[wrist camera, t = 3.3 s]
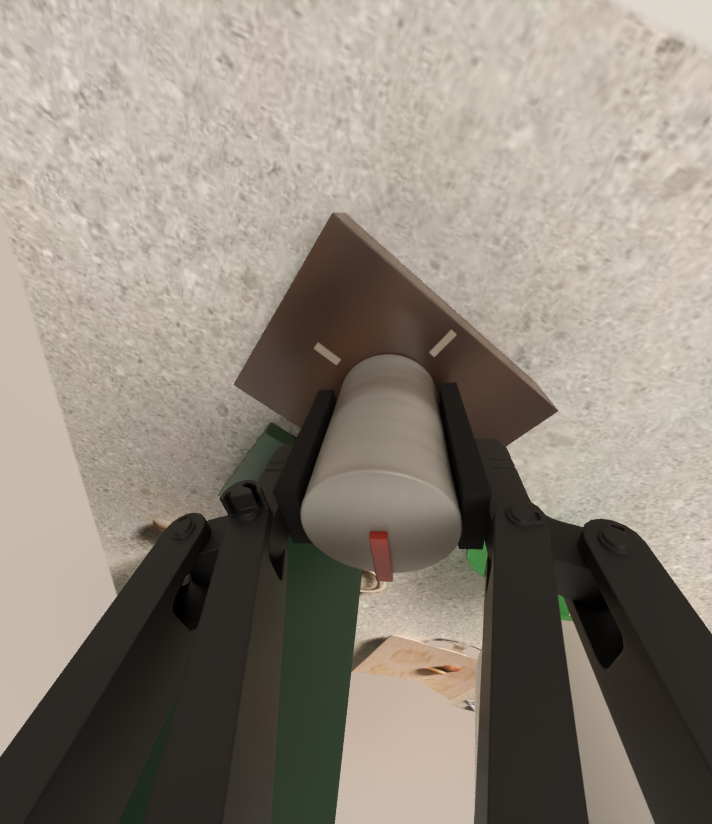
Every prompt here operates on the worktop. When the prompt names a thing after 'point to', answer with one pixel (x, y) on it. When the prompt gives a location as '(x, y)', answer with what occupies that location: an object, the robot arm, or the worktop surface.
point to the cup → (587, 732)
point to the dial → (384, 473)
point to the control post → (297, 674)
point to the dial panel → (381, 338)
